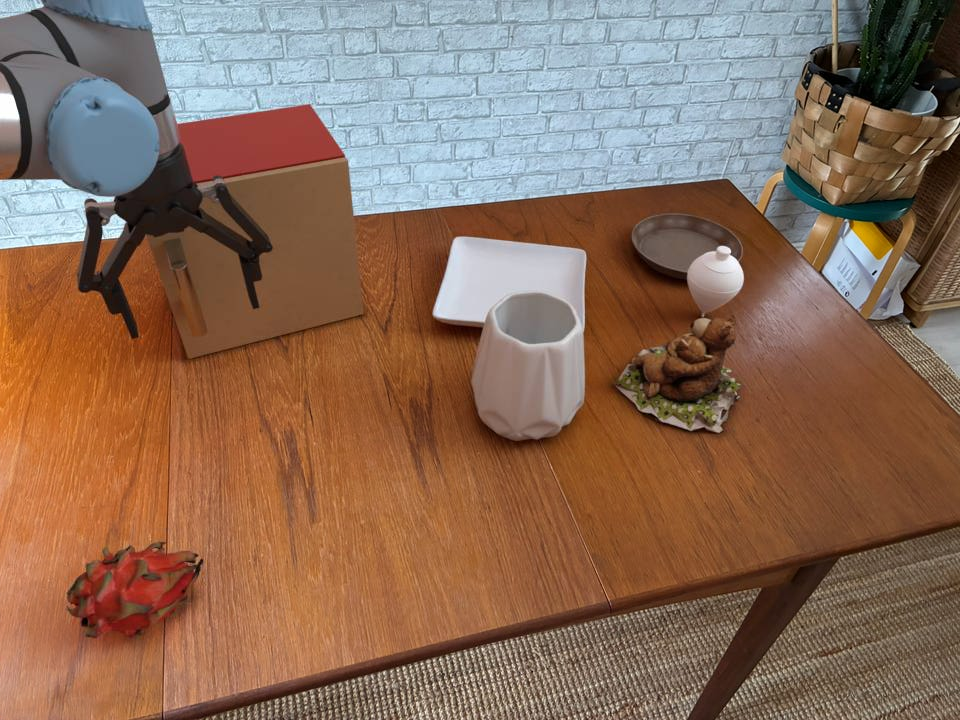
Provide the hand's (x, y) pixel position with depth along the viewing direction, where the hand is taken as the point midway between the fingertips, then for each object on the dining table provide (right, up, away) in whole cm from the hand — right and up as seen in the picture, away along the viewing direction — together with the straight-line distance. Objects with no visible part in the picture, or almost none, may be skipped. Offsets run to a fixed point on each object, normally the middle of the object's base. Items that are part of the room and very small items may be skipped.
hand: (195, 316), depth 83 cm
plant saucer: (+67, +12, +33) cm, 75 cm away
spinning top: (+67, +1, +22) cm, 70 cm away
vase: (+39, -11, +7) cm, 41 cm away
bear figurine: (+59, -9, +10) cm, 61 cm away
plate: (+38, +4, +23) cm, 45 cm away
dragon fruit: (+1, -29, -14) cm, 32 cm away
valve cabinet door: (+7, -3, +13) cm, 15 cm away
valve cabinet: (+2, +4, +21) cm, 21 cm away
